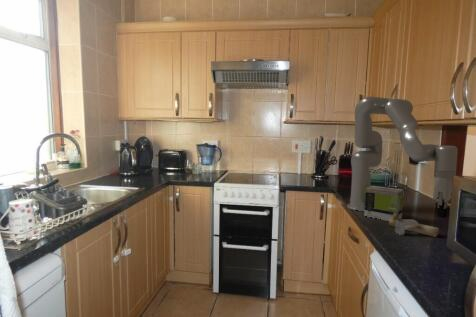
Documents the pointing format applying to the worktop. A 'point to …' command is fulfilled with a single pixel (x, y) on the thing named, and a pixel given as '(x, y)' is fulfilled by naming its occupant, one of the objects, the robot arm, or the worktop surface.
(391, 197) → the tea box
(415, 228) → the pivot link
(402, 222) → the hook
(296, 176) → the worktop surface
